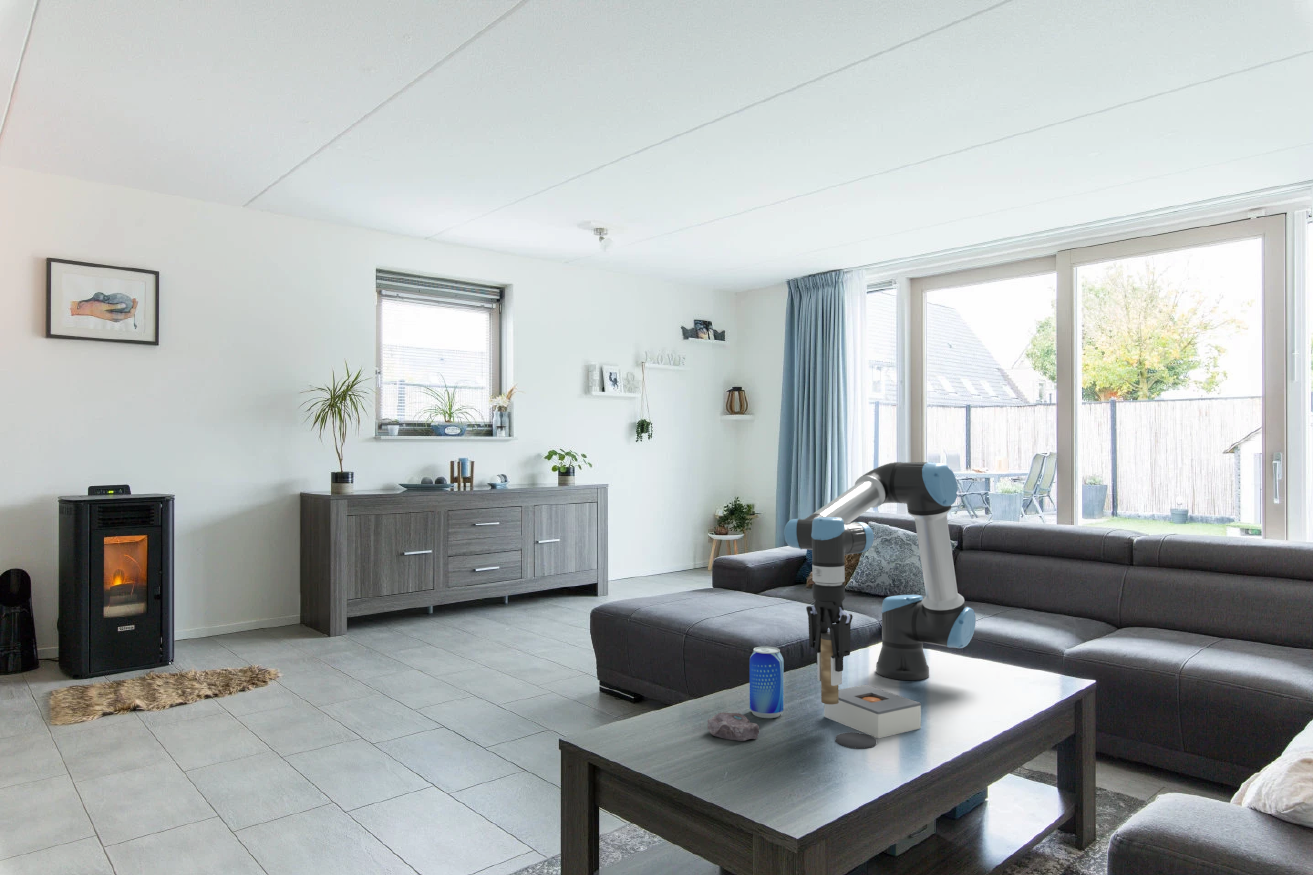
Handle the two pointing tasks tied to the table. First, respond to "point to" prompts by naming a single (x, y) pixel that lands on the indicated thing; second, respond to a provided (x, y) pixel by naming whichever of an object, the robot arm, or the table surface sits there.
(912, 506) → the robot arm
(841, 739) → the pad
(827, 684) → the stylus
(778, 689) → the beer can
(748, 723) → the rock
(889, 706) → the box
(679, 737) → the table surface
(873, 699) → the breaker button
